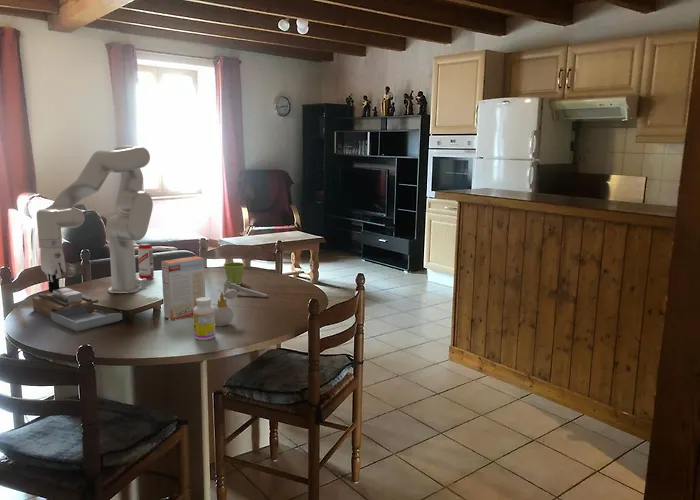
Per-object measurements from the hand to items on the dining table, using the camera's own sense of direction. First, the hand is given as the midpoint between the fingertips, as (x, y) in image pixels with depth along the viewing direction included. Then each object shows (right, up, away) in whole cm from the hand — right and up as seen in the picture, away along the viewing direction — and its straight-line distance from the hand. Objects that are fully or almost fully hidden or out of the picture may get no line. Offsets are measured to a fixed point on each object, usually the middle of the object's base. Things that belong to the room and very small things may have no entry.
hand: (54, 291), depth 207 cm
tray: (+18, -9, -13) cm, 24 cm away
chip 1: (+6, -2, -4) cm, 7 cm away
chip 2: (+10, -3, -8) cm, 13 cm away
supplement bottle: (+63, -13, -26) cm, 69 cm away
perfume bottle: (+66, -10, -13) cm, 68 cm away
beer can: (+17, +2, +48) cm, 51 cm away
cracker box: (+50, -8, -4) cm, 51 cm away
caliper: (+67, -4, +24) cm, 71 cm away
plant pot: (+58, 0, +43) cm, 72 cm away
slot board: (+6, -7, -4) cm, 10 cm away
